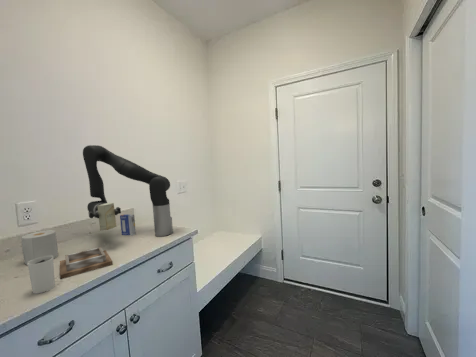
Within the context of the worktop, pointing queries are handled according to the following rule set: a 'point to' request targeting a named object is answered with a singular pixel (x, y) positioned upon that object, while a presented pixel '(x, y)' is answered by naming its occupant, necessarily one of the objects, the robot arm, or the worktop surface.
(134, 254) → the worktop surface
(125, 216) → the walkman
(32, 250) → the toilet paper roll
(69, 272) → the socket board
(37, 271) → the white coffee cup
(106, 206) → the skincare box
